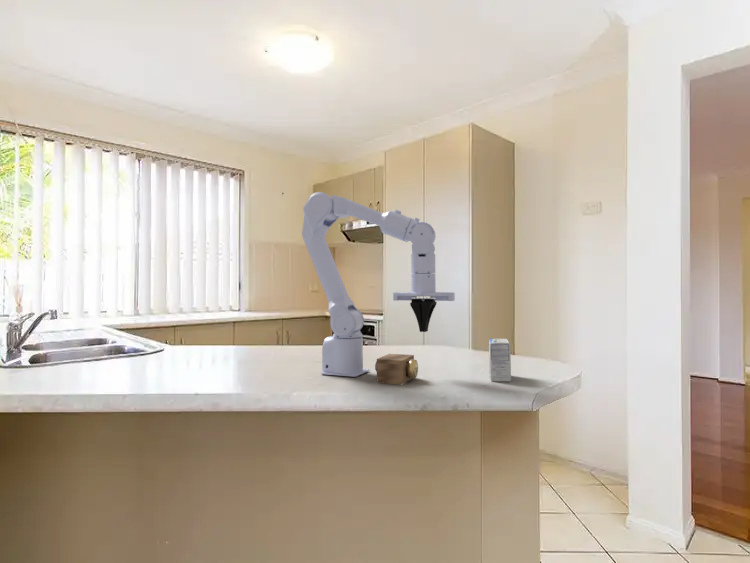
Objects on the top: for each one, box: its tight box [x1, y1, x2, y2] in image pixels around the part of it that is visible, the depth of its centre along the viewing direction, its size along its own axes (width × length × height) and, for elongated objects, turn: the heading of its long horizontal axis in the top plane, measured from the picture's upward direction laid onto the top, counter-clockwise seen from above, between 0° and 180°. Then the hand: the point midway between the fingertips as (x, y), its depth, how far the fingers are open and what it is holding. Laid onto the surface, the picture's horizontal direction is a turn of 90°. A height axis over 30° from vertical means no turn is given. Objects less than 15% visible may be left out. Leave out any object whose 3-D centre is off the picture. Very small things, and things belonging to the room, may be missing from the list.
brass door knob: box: [374, 359, 419, 379], centre depth 107 cm, size 9×4×4 cm, turn 67°
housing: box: [376, 353, 415, 386], centre depth 107 cm, size 6×8×5 cm
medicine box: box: [488, 338, 512, 383], centre depth 108 cm, size 8×4×9 cm, turn 168°
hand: (423, 331), depth 111 cm, fingers closed
